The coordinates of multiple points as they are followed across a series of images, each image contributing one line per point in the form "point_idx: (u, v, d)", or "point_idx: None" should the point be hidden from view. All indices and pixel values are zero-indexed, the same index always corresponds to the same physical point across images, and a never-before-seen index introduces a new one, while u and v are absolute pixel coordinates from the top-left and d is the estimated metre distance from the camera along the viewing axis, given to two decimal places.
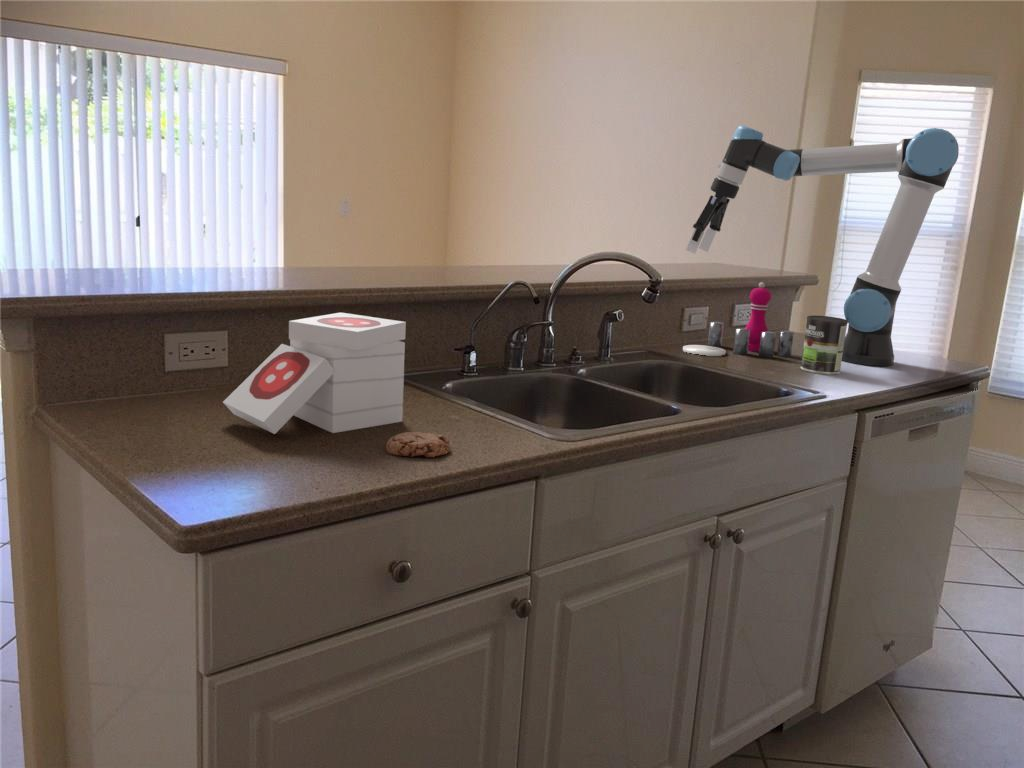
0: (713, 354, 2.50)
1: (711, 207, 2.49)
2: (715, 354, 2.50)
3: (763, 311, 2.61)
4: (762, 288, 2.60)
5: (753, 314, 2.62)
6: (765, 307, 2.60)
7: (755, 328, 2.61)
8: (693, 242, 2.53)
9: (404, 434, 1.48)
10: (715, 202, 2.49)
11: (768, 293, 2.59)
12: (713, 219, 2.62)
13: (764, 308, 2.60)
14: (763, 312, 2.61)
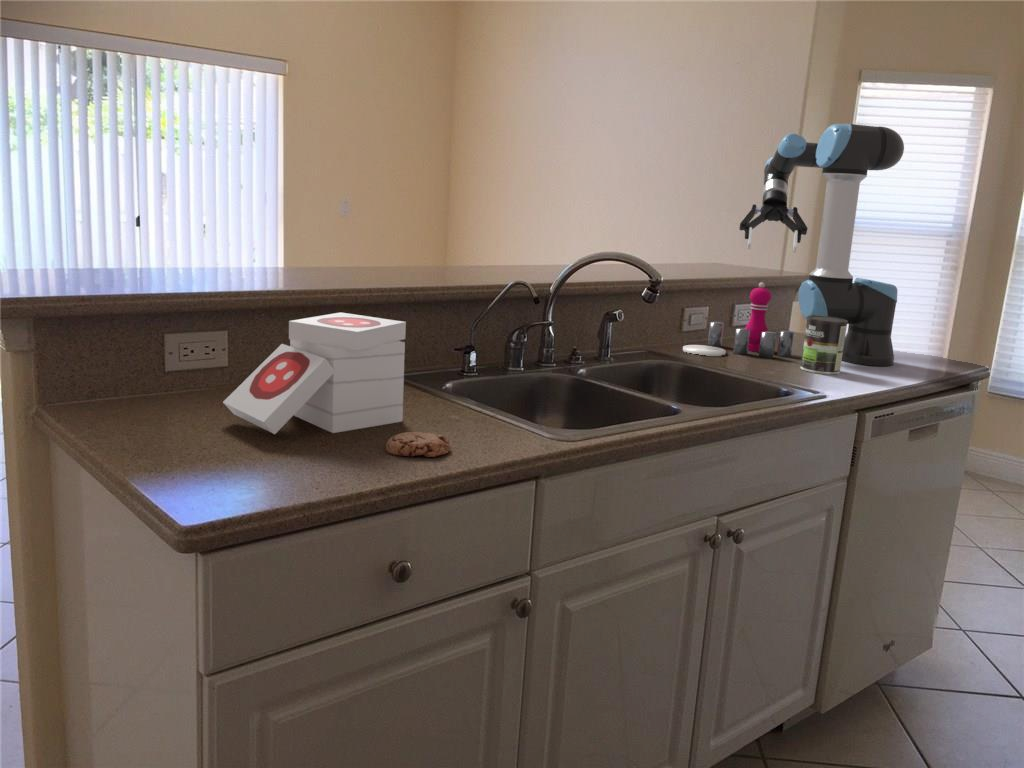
0: (713, 354, 2.50)
1: None
2: (715, 354, 2.50)
3: (763, 311, 2.61)
4: (762, 288, 2.60)
5: (753, 314, 2.62)
6: (765, 307, 2.60)
7: (755, 328, 2.61)
8: (748, 239, 2.77)
9: (404, 434, 1.48)
10: (752, 207, 2.82)
11: (768, 293, 2.59)
12: (789, 226, 2.78)
13: (764, 308, 2.60)
14: (763, 312, 2.61)
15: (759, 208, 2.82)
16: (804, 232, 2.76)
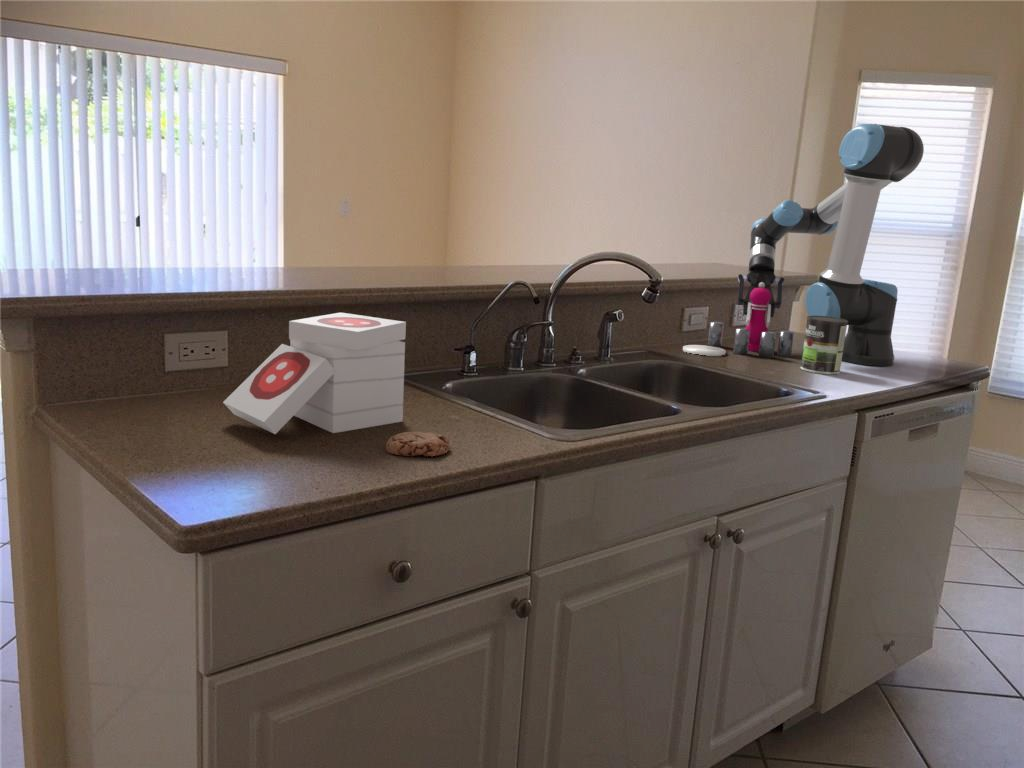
0: (713, 354, 2.50)
1: (739, 283, 2.68)
2: (715, 354, 2.50)
3: (763, 311, 2.61)
4: (762, 288, 2.60)
5: (753, 314, 2.62)
6: (765, 307, 2.60)
7: (755, 328, 2.61)
8: None
9: (404, 434, 1.48)
10: (739, 278, 2.68)
11: (768, 293, 2.59)
12: None
13: (764, 308, 2.60)
14: (763, 312, 2.61)
15: (745, 276, 2.69)
16: (777, 305, 2.63)
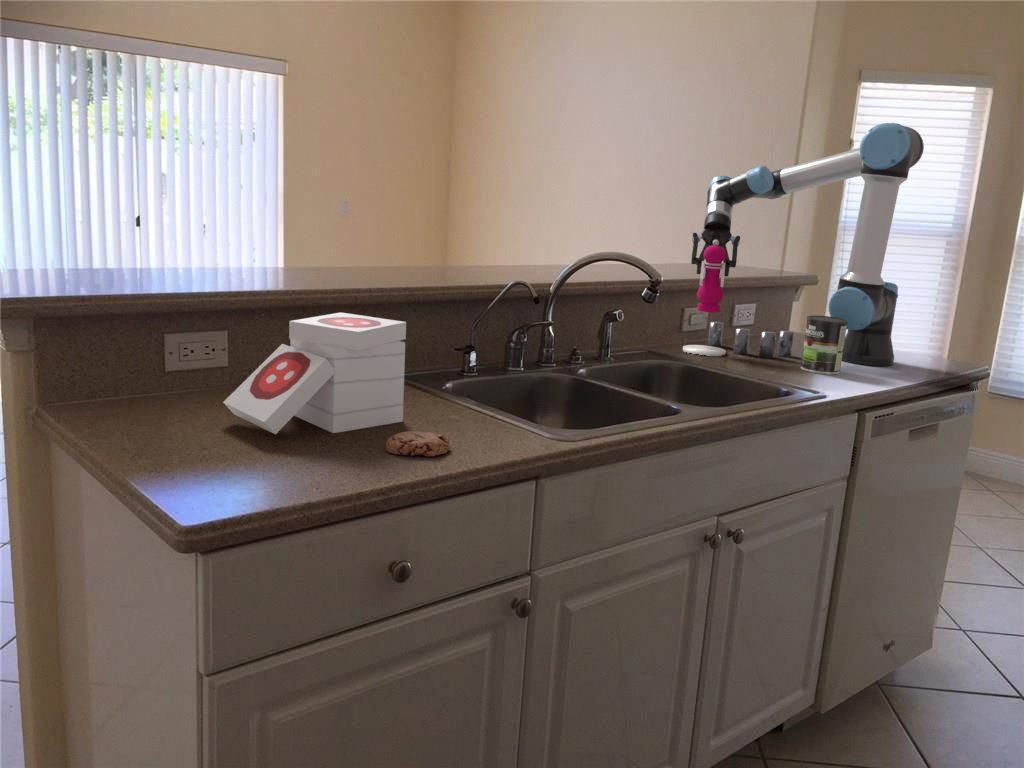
0: (713, 354, 2.50)
1: (693, 242, 2.56)
2: (715, 354, 2.50)
3: (717, 270, 2.49)
4: (716, 246, 2.48)
5: (707, 273, 2.50)
6: (719, 266, 2.48)
7: (708, 288, 2.49)
8: None
9: (404, 433, 1.49)
10: (693, 237, 2.56)
11: (722, 251, 2.47)
12: None
13: (718, 267, 2.48)
14: (717, 271, 2.49)
15: (700, 235, 2.57)
16: (732, 264, 2.50)
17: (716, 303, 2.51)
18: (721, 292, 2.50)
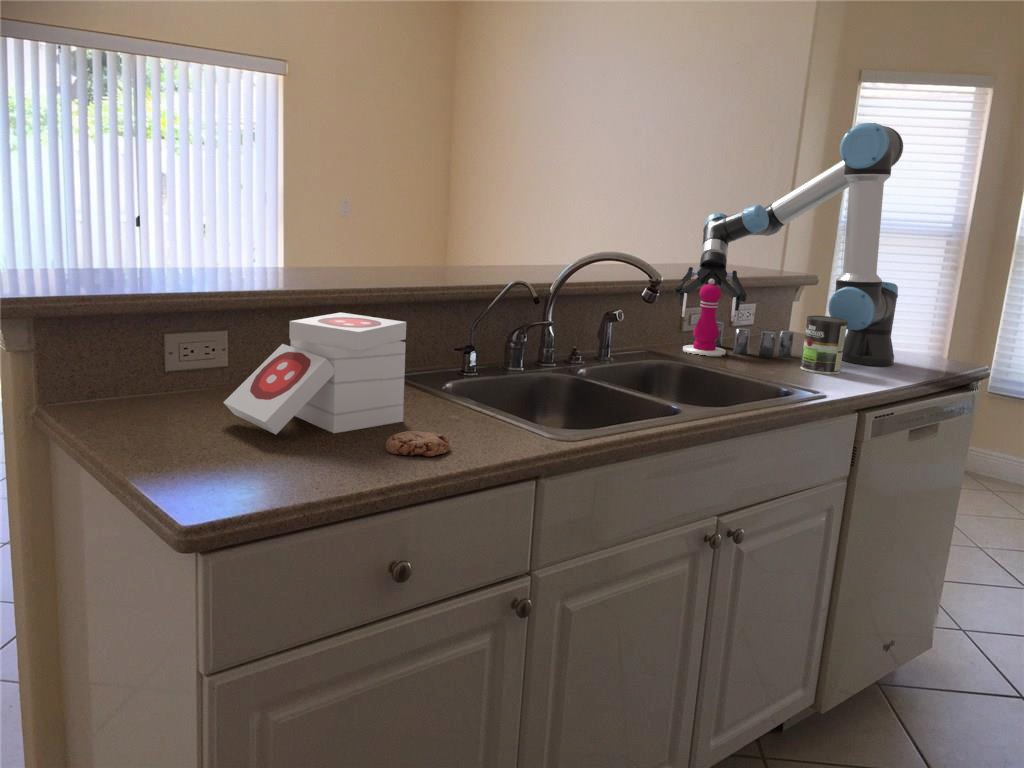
0: (713, 354, 2.50)
1: None
2: (715, 354, 2.50)
3: (713, 309, 2.51)
4: (712, 285, 2.50)
5: (703, 312, 2.52)
6: (715, 304, 2.51)
7: (704, 326, 2.51)
8: None
9: (404, 433, 1.49)
10: (688, 270, 2.60)
11: (718, 290, 2.50)
12: (728, 292, 2.55)
13: (714, 305, 2.51)
14: (713, 310, 2.51)
15: (696, 271, 2.60)
16: (743, 299, 2.53)
17: (712, 341, 2.53)
18: (717, 330, 2.52)
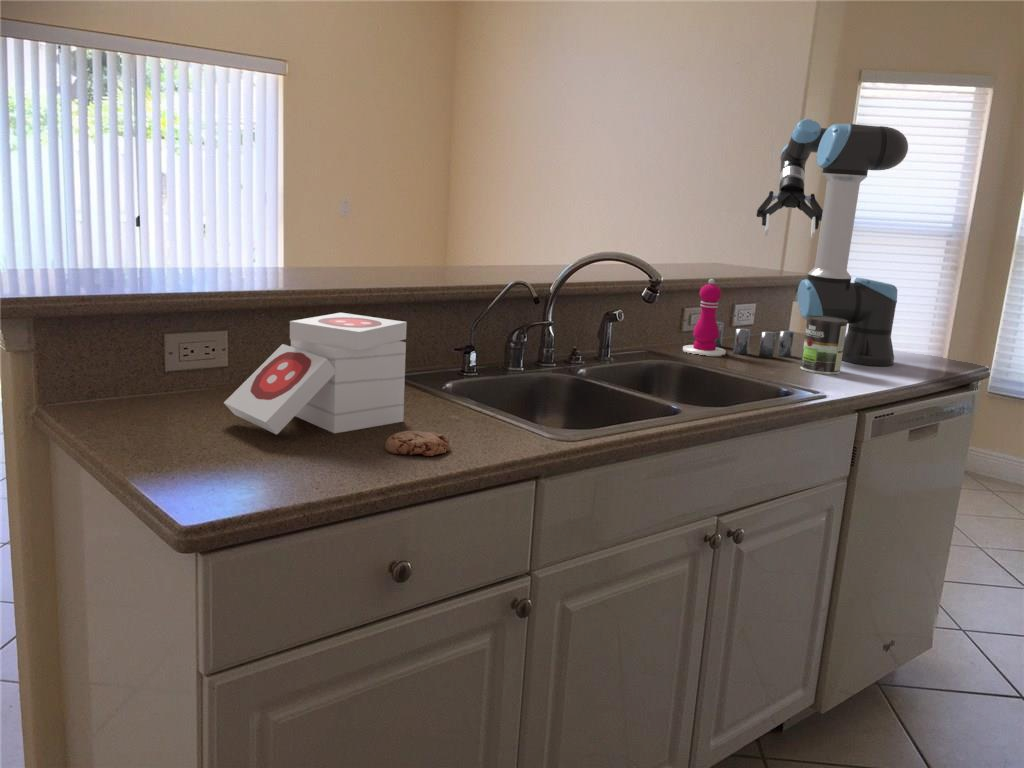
0: (713, 354, 2.50)
1: None
2: (715, 354, 2.50)
3: (713, 309, 2.51)
4: (712, 285, 2.50)
5: (703, 312, 2.52)
6: (715, 304, 2.51)
7: (704, 326, 2.51)
8: (765, 226, 2.75)
9: (404, 432, 1.49)
10: (769, 194, 2.81)
11: (718, 290, 2.50)
12: (807, 213, 2.77)
13: (714, 305, 2.51)
14: (713, 310, 2.51)
15: (776, 195, 2.81)
16: (822, 218, 2.74)
17: (712, 341, 2.53)
18: (717, 330, 2.52)
